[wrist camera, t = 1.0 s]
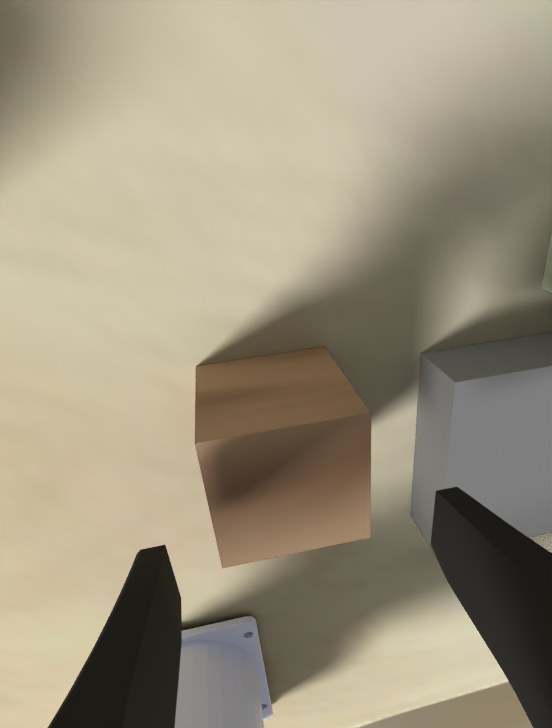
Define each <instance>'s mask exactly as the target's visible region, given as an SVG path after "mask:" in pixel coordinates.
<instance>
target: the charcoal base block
mask: <svg viewBox="0 0 552 728" xmlns="http://www.w3.org/2000/svg"><path fill="white" fill-rule="evenodd" d="M452 487H458V488H460V489H461V490H463V491H464V492H465V493H467V494H468V495H470V496H471V497H472V498H474V499H475V500H476V501H478V502H479V503H481V504H482V505H483V506H485V507H486V508H487V509H489V510H490V511H492V512H493V513H494V514H496V515H497V516H499V517H500V518H501V519H503V520H504V521H505V522H507V523H508V524H510V525H511V526H512V527H514V528H515V529H517V530H518V531H520V532H521V533H522V534H524V535H525V536H527V537H528V538H529V537H534V536H538V535H543V534H547V533H552V332H549V333H542V334H536V335H530V336H524V337H518V338H511V339H505V340H499V341H493V342H487V343H481V344H474V345H468V346H462V347H456V348H450V349H443V350H437V351H431V352H425V353H421V357H420V372H419V388H418V404H417V419H416V435H415V451H414V466H413V482H412V498H411V513H410V515H411V517H412V518H413V520H414V522H415V523H416V525H417V527H418V528H419V530H420V532H421V533H422V535H423V537H424V538H425V540H426V541H427V543H428V545H429V546H430V548H431V550H432V551H433V549H432V547H431V534H432V524H433V514H434V504H435V493H436V491H437V490H442V489H447V488H452ZM433 553H434V551H433ZM434 555H435V553H434ZM435 556H436V555H435Z"/></svg>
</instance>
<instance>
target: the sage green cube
mask: <svg viewBox="0 0 552 728" xmlns="http://www.w3.org/2000/svg"><path fill="white" fill-rule="evenodd" d="M541 289H542V290H545V291H548V292H550V293H552V233H551V238H550V244H549V249H548V254H547V260H546V265H545V270H544V276H543V281H542V286H541Z"/></svg>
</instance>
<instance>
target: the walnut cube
mask: <svg viewBox="0 0 552 728" xmlns="http://www.w3.org/2000/svg"><path fill="white" fill-rule="evenodd" d="M195 446H196V451H197V455H198V460H199V464H200V469H201V473H202V478H203V483H204V487H205V492H206V496H207V501H208V505H209V510H210V514H211V519H212V523H213V528H214V533H215V537H216V542H217V546H218V551H219V555H220V560H221V564H222V568H226V567H231V566H236V565H241V564H246V563H250V562H255V561H260V560H265V559H270V558H275V557H279V556H284V555H289V554H294V553H299V552H303V551H308V550H313V549H318V548H323V547H327V546H332V545H337V544H342V543H347V542H352V541H356V540H361V539H366V538H370V487H371V412H370V410H369V409H368V408H367V406H366V405H365V403H364V402H363V400H362V399H361V397H360V396H359V395H358V393H357V392H356V390H355V389H354V387H353V386H352V385H351V383H350V382H349V380H348V379H347V377H346V376H345V374H344V373H343V372H342V370H341V369H340V367H339V366H338V364H337V363H336V361H335V360H334V359H333V357H332V356H331V354H330V353H329V351H328V350H327V348H326V347H325V346H322V347H315V348H309V349H303V350H296V351H290V352H284V353H277V354H271V355H264V356H258V357H252V358H245V359H239V360H232V361H226V362H220V363H213V364H207V365H200V366H196V400H195Z"/></svg>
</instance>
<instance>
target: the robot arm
mask: <svg viewBox="0 0 552 728" xmlns="http://www.w3.org/2000/svg"><path fill="white" fill-rule="evenodd" d="M431 547H432V549H433V551H434V553H435V555H436V558H437V560H438V562H439V564H440V566H441V568H442V570H443V572H444V574H445V576H446V578H447V581H448V583H449V584H450V586H451V588H452V589H453V591H454V593H455V594H456V596H457V597H458V599H459V601H460V602H461V604H462V606H463V607H464V609H465V611H466V612H467V614H468V615H469V617H470V619H471V620H472V622H473V623H474V625H475V627H476V628H477V630H478V631H479V633H480V635H481V636H482V638H483V639H484V641H485V643H486V644H487V646H488V648H489V649H490V651H491V652H492V654H493V656H494V657H495V659H496V660H497V662H498V664H499V665H500V667H501V668H502V670H503V672H504V674H505V675H506V677H507V679H508V681H509V682H510V684H511V686H512V687H513V689H514V691H515V693H516V695H517V697H518V699H519V701H520V703H521V704H522V706H523V708H524V710H525V712H526V714H527V716H528V718H529V720H530V722H531V724H532V726H533V727H534V728H552V553H551V552H549V551H547V550H546V549H544V548H543V547H541V546H540V545H538V544H537V543H536V542H534V541H533V540H531V539H530V538H528V537H527V536H525V535H524V534H522V533H521V532H520V531H518V530H517V529H515V528H514V527H512V526H511V525H510V524H508V523H507V522H505V521H504V520H503V519H501V518H500V517H499V516H497V515H496V514H494V513H493V512H492V511H490V510H489V509H487V508H486V507H485V506H483V505H482V504H481V503H479V502H478V501H476V500H475V499H474V498H472V497H471V496H470V495H468V494H467V493H465V492H464V491H463V490H461V489H460V488H458V487H452V488H447V489H442V490H437V491H436V493H435V504H434V514H433V524H432V534H431ZM272 714H273V711H272V705H271V699H270V694H269V688H268V683H267V677H266V672H265V667H264V661H263V656H262V650H261V645H260V639H259V634H258V629H257V623H256V620H255V618H253V617H251V616H245V617H241V618H236V619H232V620H227V621H223V622H218V623H214V624H209V625H205V626H200V627H196V628H192V629H187V630H183V631H182V622H181V596H180V593H179V590H178V586H177V583H176V580H175V576H174V573H173V570H172V566H171V563H170V560H169V556H168V553H167V550H166V546H165V545H162V546H157V547H152V548H147V549H142V550H140V551H139V552H138V553H137V555H136V558H135V560H134V563H133V565H132V568H131V570H130V572H129V575H128V577H127V579H126V582H125V584H124V586H123V588H122V591H121V593H120V595H119V597H118V599H117V601H116V604H115V606H114V608H113V610H112V612H111V614H110V616H109V618H108V620H107V622H106V624H105V626H104V628H103V630H102V632H101V634H100V636H99V638H98V640H97V642H96V644H95V646H94V648H93V650H92V652H91V653H90V655H89V657H88V659H87V661H86V663H85V664H84V666H83V668H82V670H81V672H80V673H79V675H78V677H77V679H76V681H75V683H74V684H73V686H72V688H71V690H70V691H69V693H68V695H67V697H66V698H65V700H64V702H63V703H62V705H61V707H60V708H59V710H58V712H57V713H56V715H55V717H54V718H53V720H52V722H51V723H50V725H49V727H48V728H264V724H263V720H266V719H268V718H270V717H271V716H272Z"/></svg>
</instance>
